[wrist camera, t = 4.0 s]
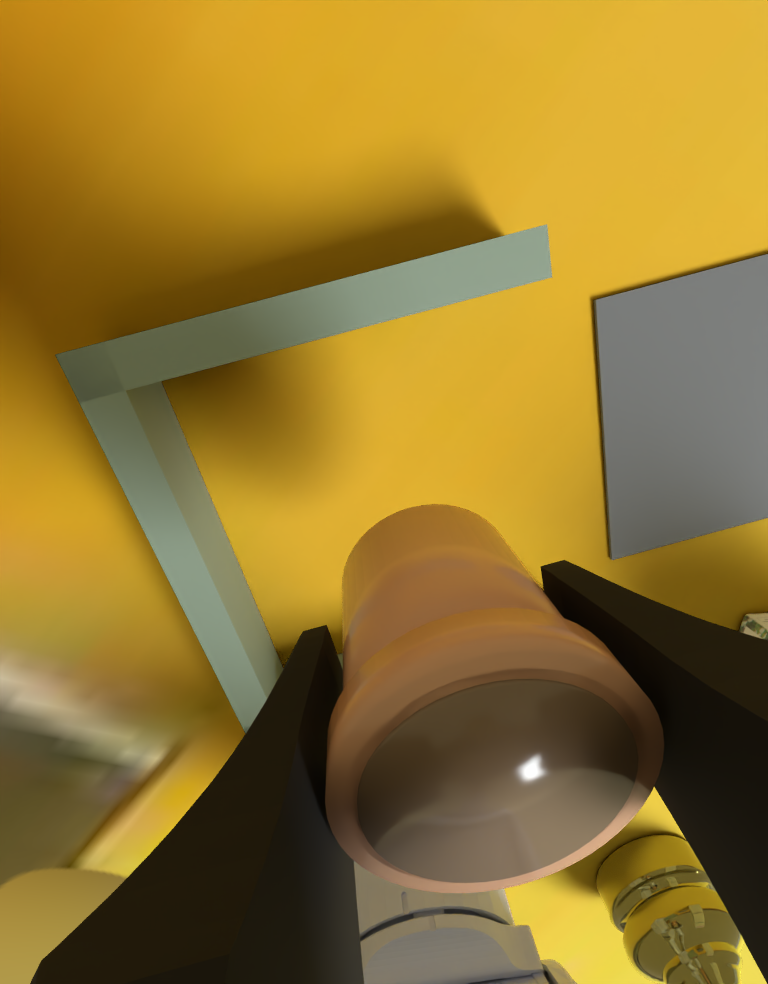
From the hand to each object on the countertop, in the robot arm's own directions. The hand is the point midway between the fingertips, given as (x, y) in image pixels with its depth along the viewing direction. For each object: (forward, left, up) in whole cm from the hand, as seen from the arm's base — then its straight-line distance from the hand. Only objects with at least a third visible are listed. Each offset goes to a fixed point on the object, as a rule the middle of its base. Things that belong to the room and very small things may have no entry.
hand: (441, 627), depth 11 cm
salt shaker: (-32, -11, -9) cm, 35 cm away
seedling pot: (0, 0, -2) cm, 2 cm away
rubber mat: (0, -14, -9) cm, 17 cm away
